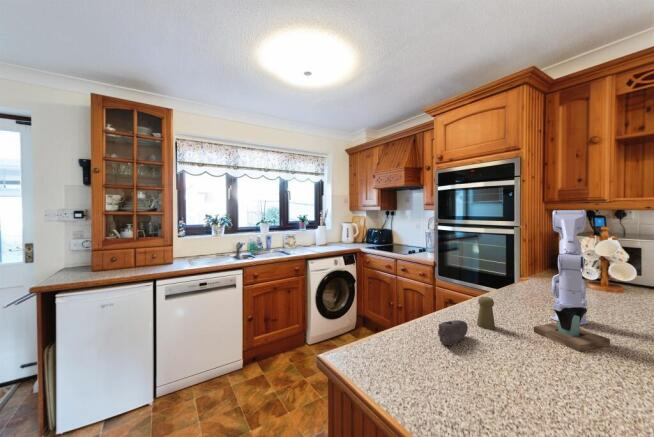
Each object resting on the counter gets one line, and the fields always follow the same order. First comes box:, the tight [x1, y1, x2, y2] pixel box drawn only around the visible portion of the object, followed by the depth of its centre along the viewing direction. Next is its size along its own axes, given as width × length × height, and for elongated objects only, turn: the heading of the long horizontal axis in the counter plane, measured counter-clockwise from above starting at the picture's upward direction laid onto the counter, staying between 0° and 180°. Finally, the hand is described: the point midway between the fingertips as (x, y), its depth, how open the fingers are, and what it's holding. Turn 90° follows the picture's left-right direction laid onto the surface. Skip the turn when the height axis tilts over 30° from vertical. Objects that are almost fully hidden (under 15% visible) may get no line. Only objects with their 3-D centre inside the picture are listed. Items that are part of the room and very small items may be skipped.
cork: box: [476, 296, 496, 330], centre depth 101 cm, size 6×6×11 cm
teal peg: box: [557, 315, 581, 338], centre depth 91 cm, size 4×4×7 cm
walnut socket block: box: [533, 321, 611, 353], centre depth 90 cm, size 14×14×2 cm
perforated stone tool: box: [437, 319, 469, 346], centre depth 90 cm, size 15×5×7 cm, turn 120°
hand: (569, 328), depth 90 cm, fingers closed on teal peg, 4 cm apart
